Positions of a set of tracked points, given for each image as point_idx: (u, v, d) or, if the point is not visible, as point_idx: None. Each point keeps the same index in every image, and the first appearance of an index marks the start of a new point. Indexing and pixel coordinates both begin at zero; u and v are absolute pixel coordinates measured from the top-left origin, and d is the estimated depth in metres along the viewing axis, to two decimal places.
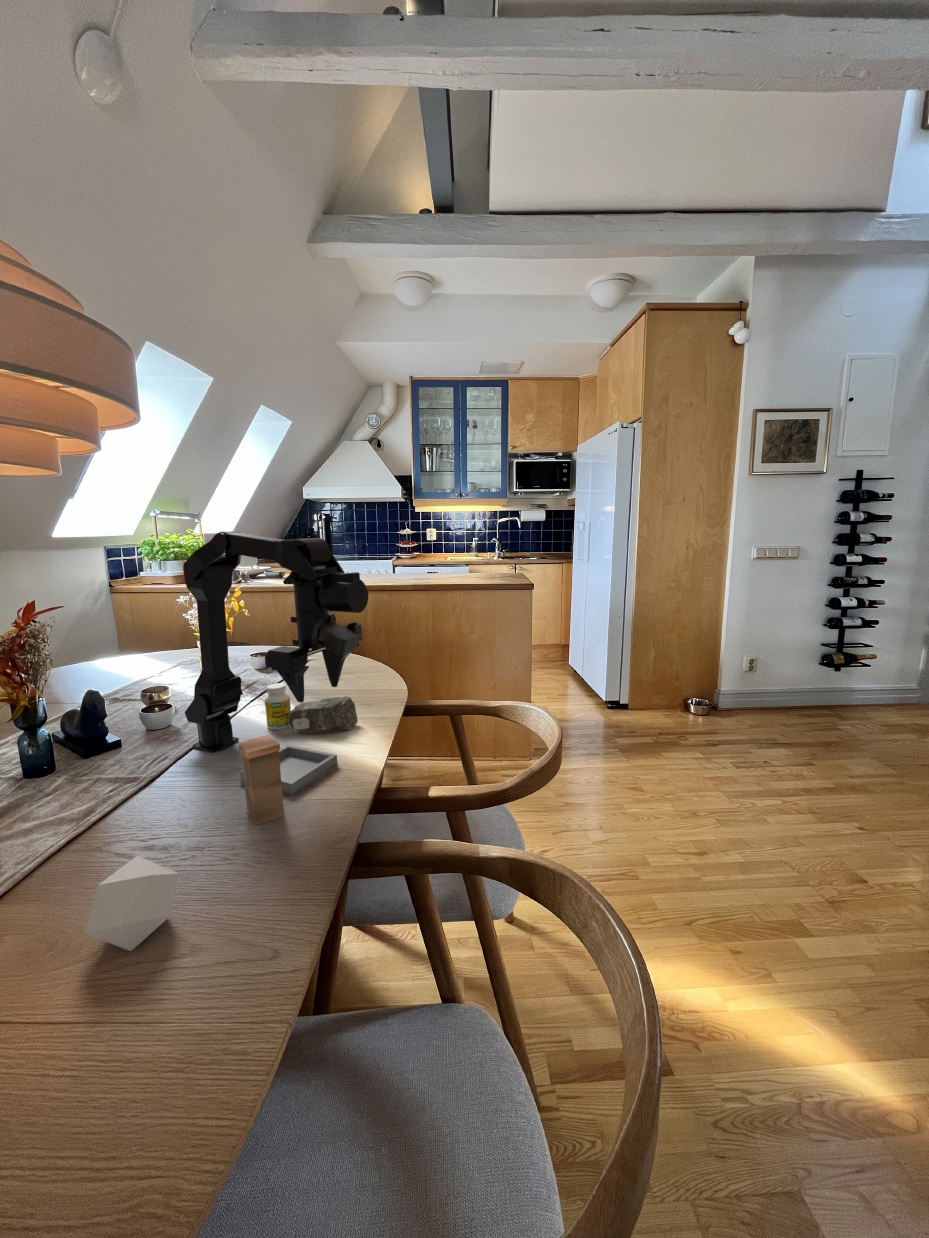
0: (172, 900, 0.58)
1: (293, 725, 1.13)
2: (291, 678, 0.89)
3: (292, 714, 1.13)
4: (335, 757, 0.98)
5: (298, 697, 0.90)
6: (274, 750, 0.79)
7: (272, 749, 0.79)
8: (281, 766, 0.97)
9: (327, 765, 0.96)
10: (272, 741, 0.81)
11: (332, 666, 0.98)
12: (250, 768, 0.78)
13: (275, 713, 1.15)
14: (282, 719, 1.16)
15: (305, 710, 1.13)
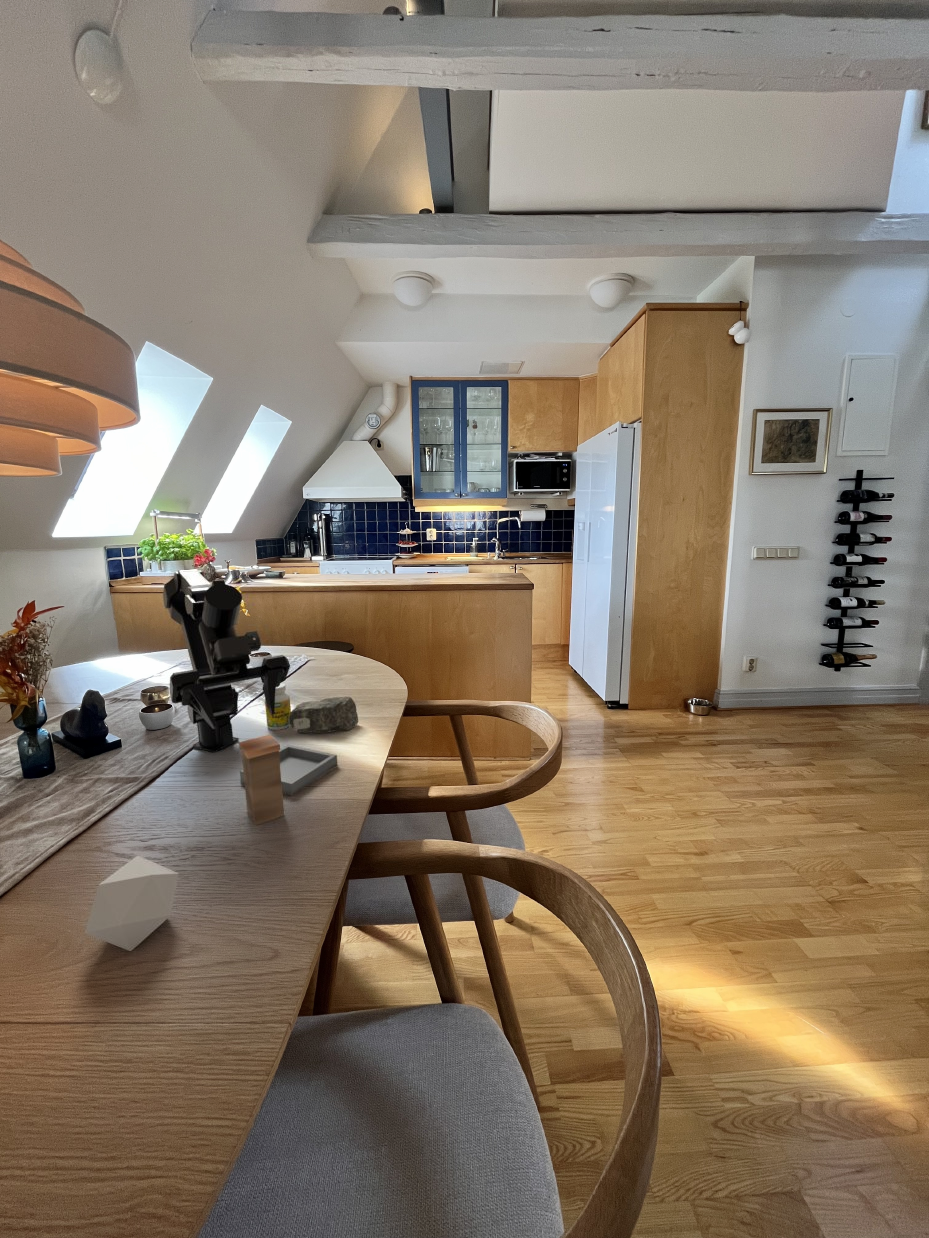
0: (172, 900, 0.58)
1: (294, 725, 1.13)
2: (200, 706, 0.85)
3: (293, 714, 1.13)
4: (335, 757, 0.98)
5: (210, 722, 0.83)
6: (274, 750, 0.79)
7: (272, 749, 0.79)
8: (281, 766, 0.97)
9: (327, 765, 0.96)
10: (273, 741, 0.81)
11: (267, 695, 0.91)
12: (250, 768, 0.78)
13: (275, 713, 1.15)
14: (282, 719, 1.16)
15: (306, 710, 1.13)
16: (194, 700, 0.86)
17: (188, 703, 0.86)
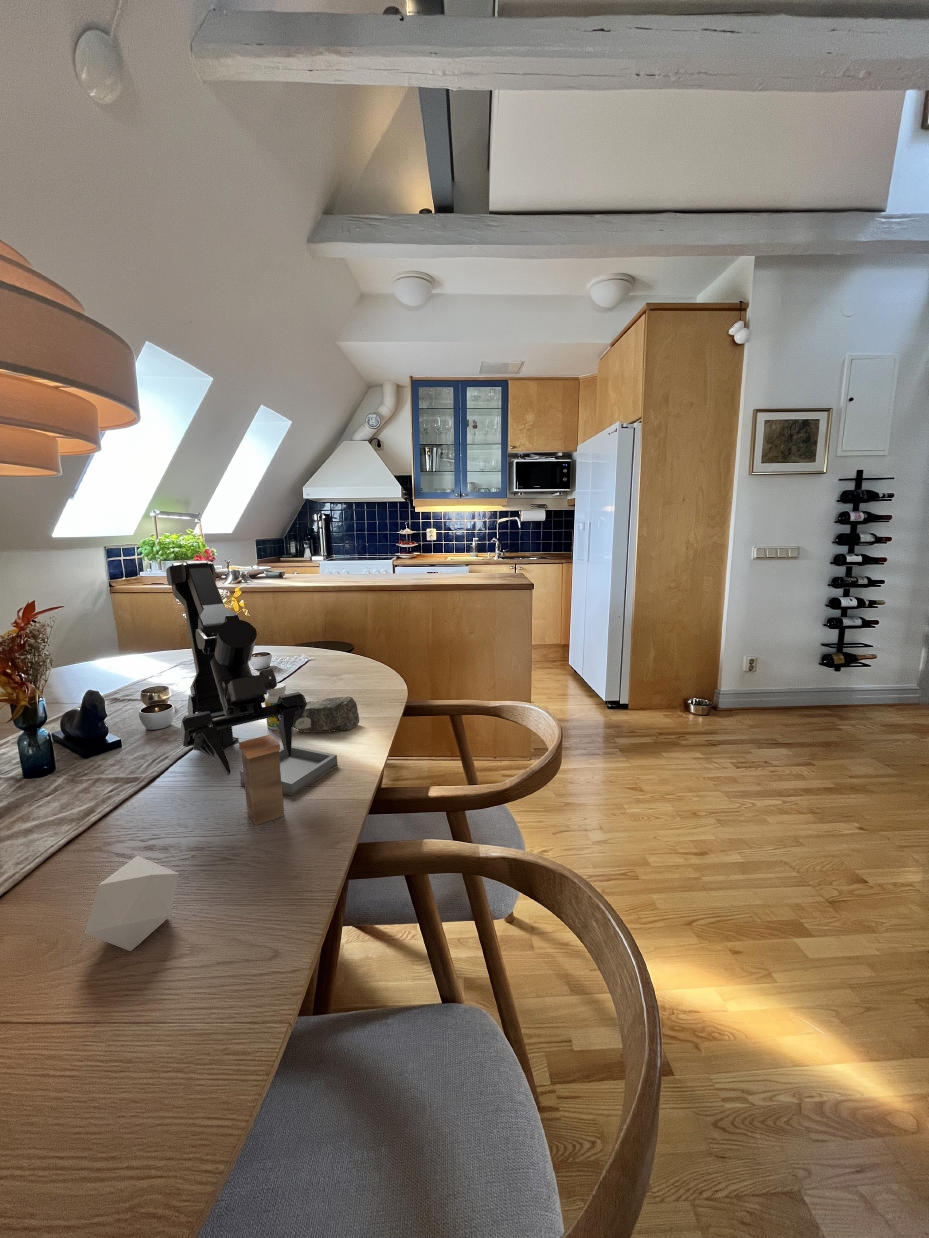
0: (172, 900, 0.58)
1: (295, 724, 1.13)
2: (213, 750, 0.80)
3: None
4: (335, 757, 0.98)
5: (223, 768, 0.78)
6: (274, 750, 0.79)
7: (272, 749, 0.79)
8: (281, 766, 0.97)
9: (327, 765, 0.96)
10: (273, 741, 0.81)
11: (283, 735, 0.86)
12: (250, 768, 0.78)
13: None
14: None
15: (307, 709, 1.13)
16: (207, 743, 0.81)
17: (200, 746, 0.81)
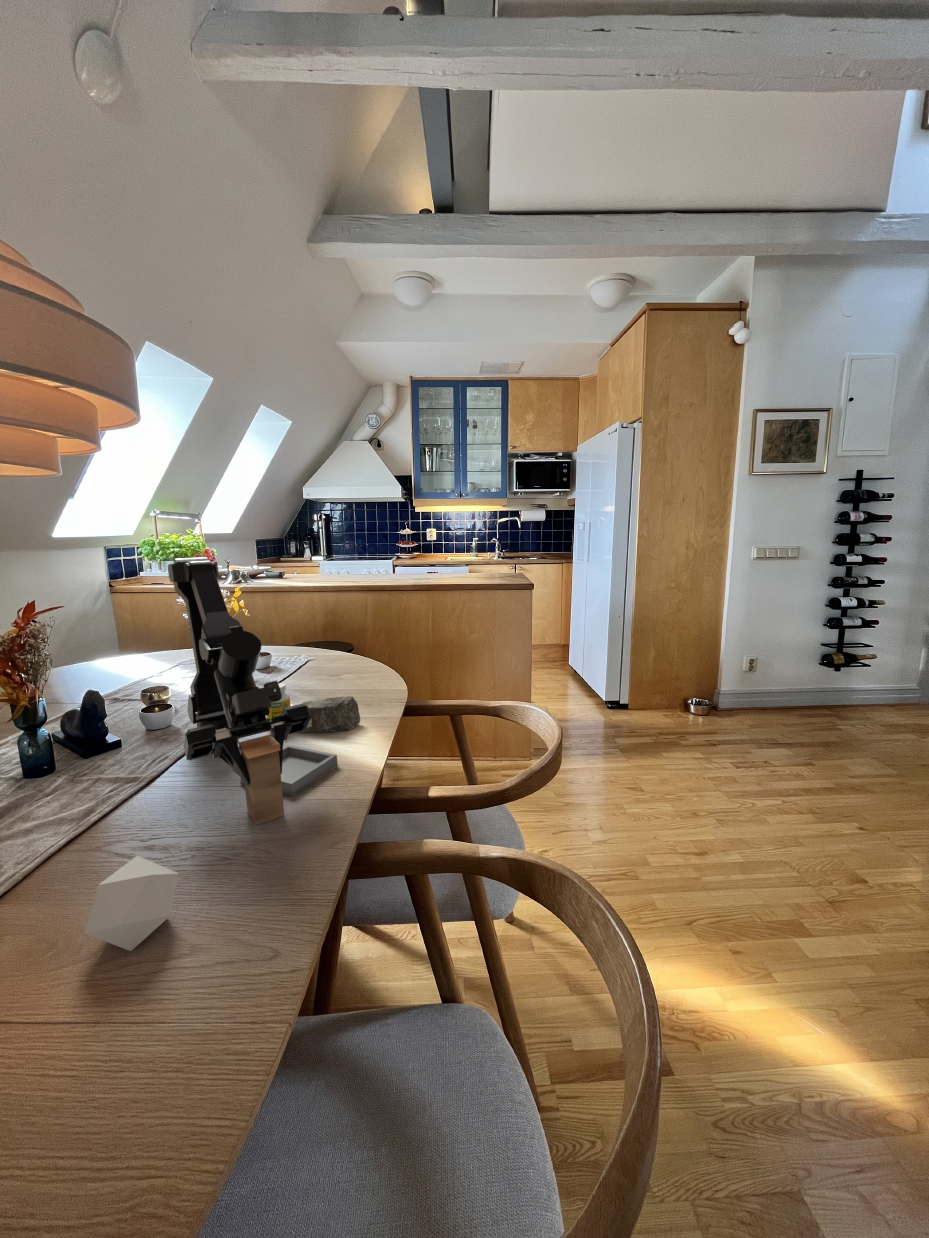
0: (172, 900, 0.58)
1: None
2: (232, 760, 0.80)
3: None
4: (335, 757, 0.98)
5: (243, 777, 0.79)
6: (274, 750, 0.79)
7: (272, 749, 0.79)
8: None
9: (327, 765, 0.96)
10: (273, 740, 0.81)
11: None
12: (250, 768, 0.78)
13: (275, 713, 1.15)
14: None
15: None
16: (226, 753, 0.81)
17: (219, 756, 0.81)
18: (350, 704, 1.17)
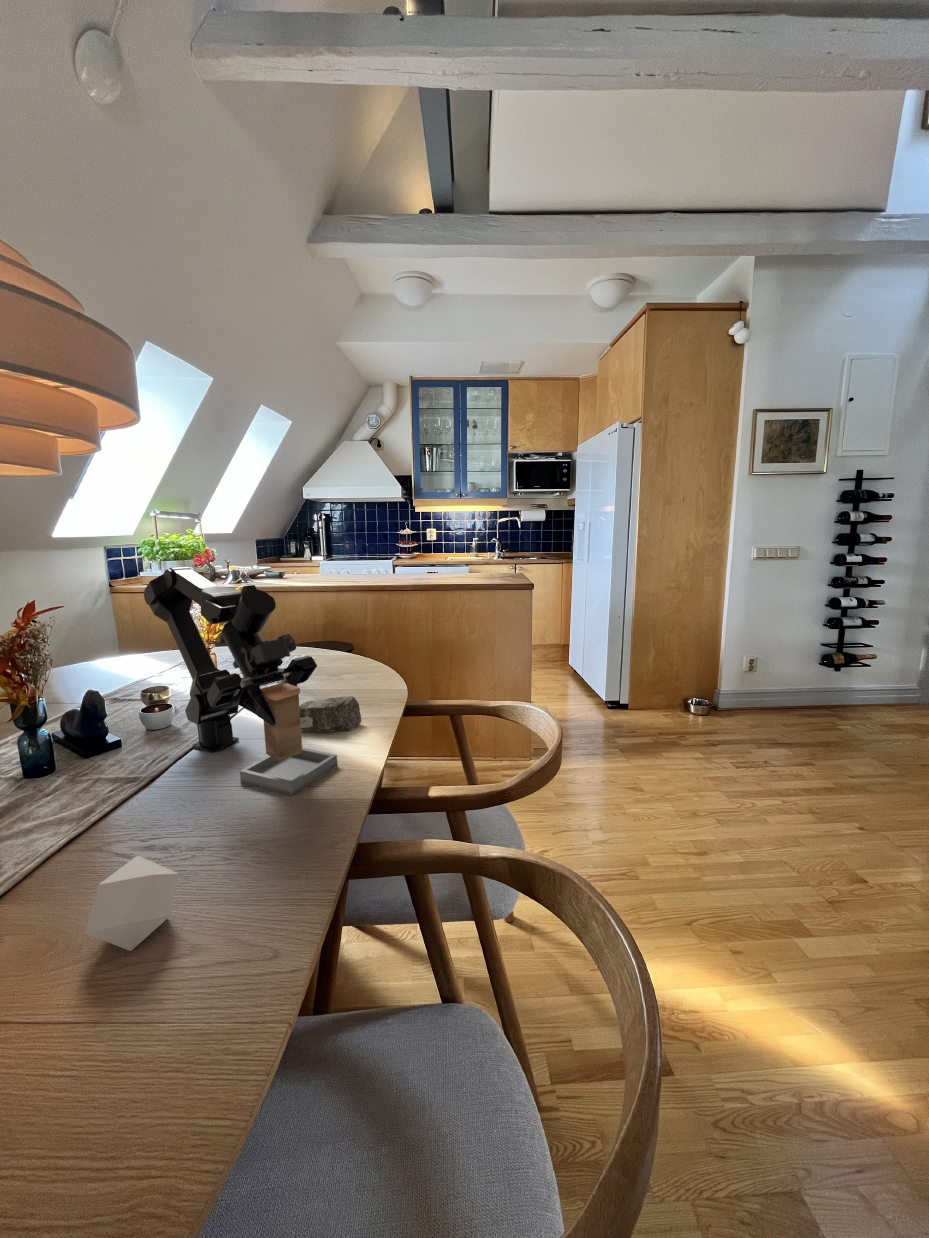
0: (172, 900, 0.58)
1: None
2: (254, 705, 0.89)
3: None
4: (335, 757, 0.98)
5: (268, 719, 0.88)
6: (295, 693, 0.89)
7: (294, 692, 0.89)
8: (281, 766, 0.97)
9: (327, 765, 0.96)
10: (291, 686, 0.91)
11: None
12: (276, 709, 0.87)
13: None
14: None
15: (309, 709, 1.14)
16: (246, 700, 0.89)
17: (239, 703, 0.89)
18: (351, 704, 1.17)
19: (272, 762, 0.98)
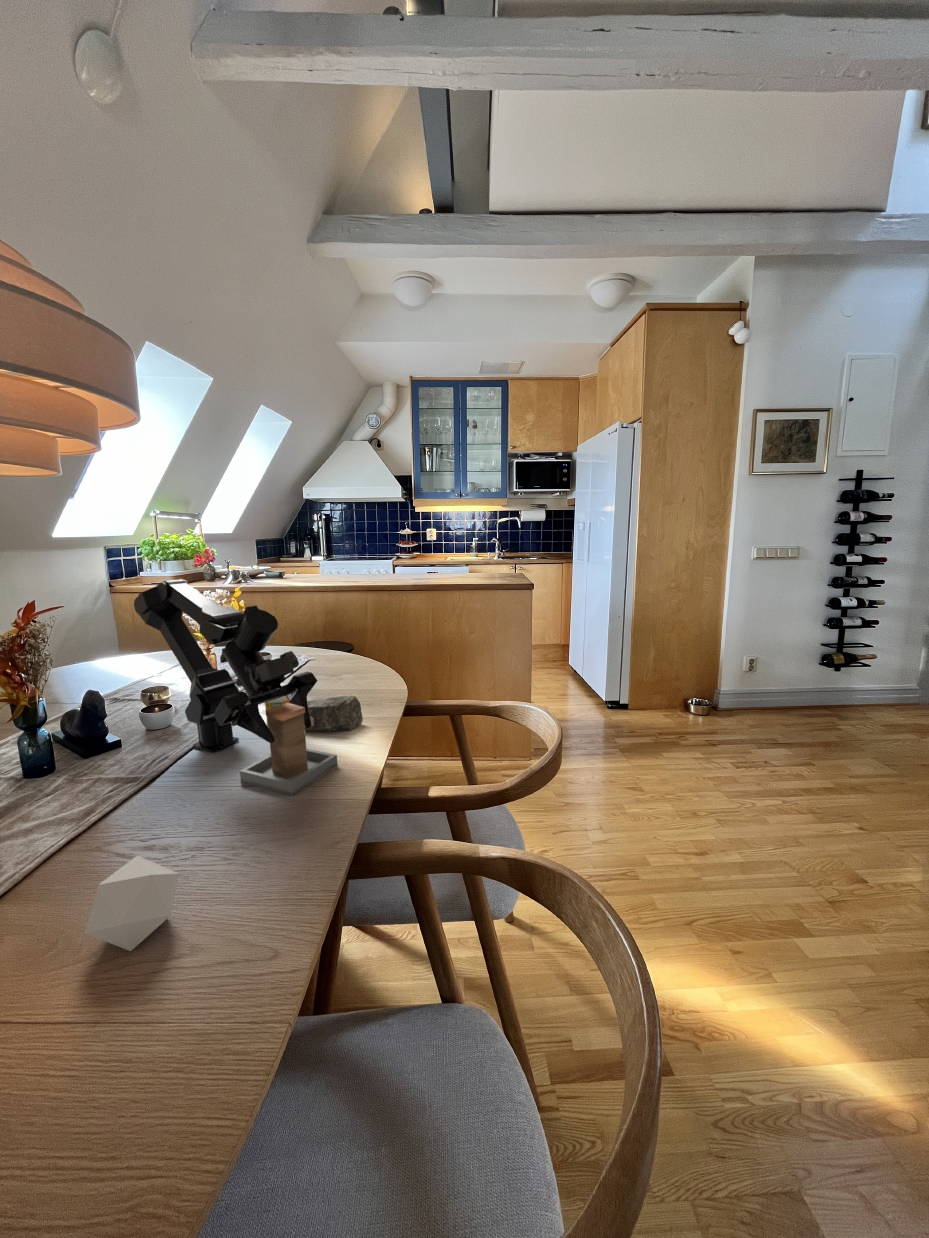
0: (172, 900, 0.58)
1: None
2: (253, 724, 0.90)
3: None
4: (335, 757, 0.98)
5: (267, 737, 0.90)
6: (301, 712, 0.93)
7: (299, 711, 0.93)
8: None
9: (327, 765, 0.96)
10: (296, 706, 0.94)
11: None
12: (284, 729, 0.91)
13: None
14: None
15: (310, 708, 1.14)
16: (244, 719, 0.91)
17: (237, 723, 0.91)
18: (352, 704, 1.17)
19: None
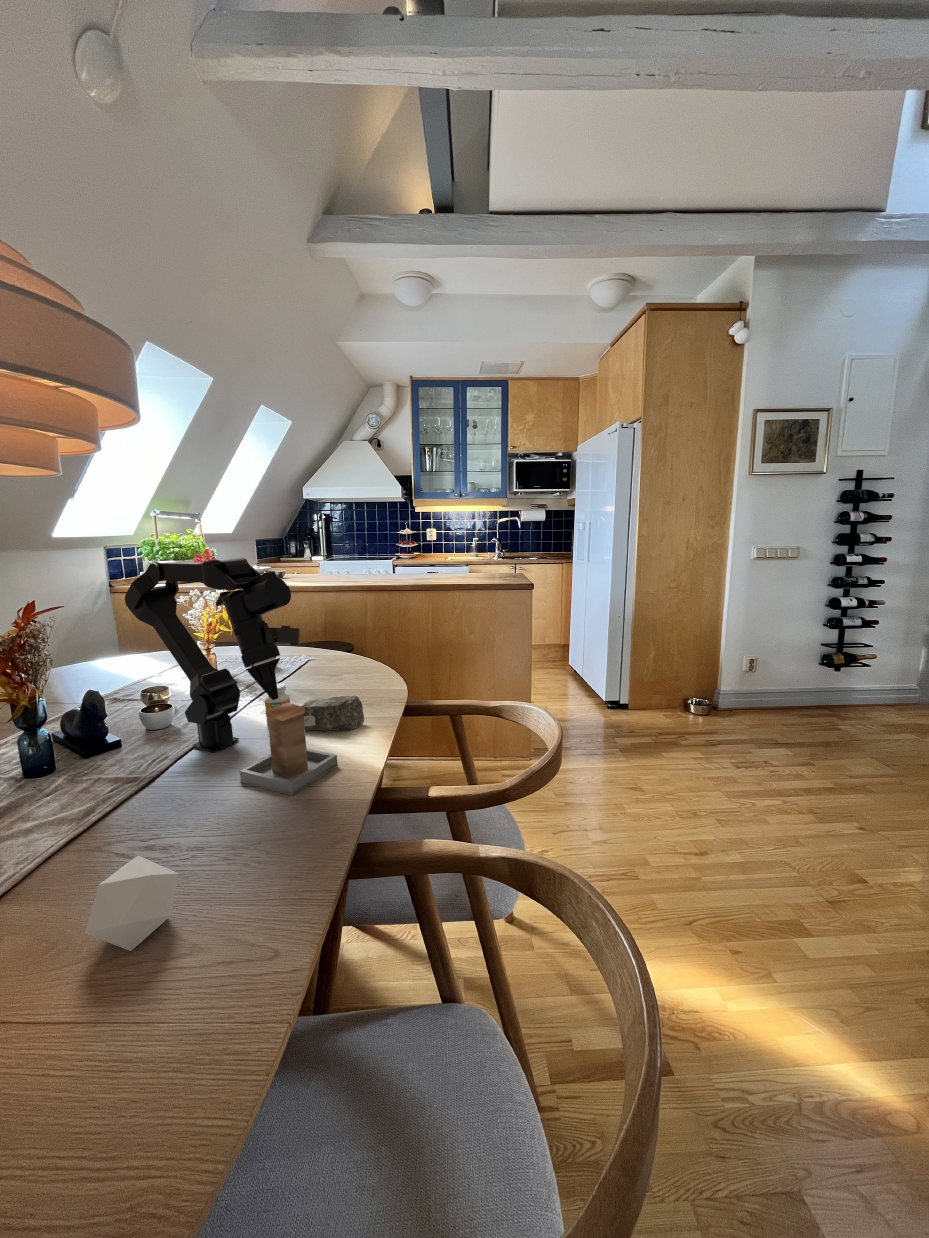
0: (172, 900, 0.58)
1: None
2: (264, 676, 0.94)
3: None
4: (335, 757, 0.98)
5: (274, 693, 0.95)
6: (301, 712, 0.93)
7: (299, 711, 0.93)
8: None
9: (327, 765, 0.96)
10: (296, 706, 0.94)
11: None
12: (284, 729, 0.91)
13: None
14: None
15: (312, 707, 1.14)
16: (257, 669, 0.93)
17: (251, 670, 0.92)
18: (354, 703, 1.17)
19: None
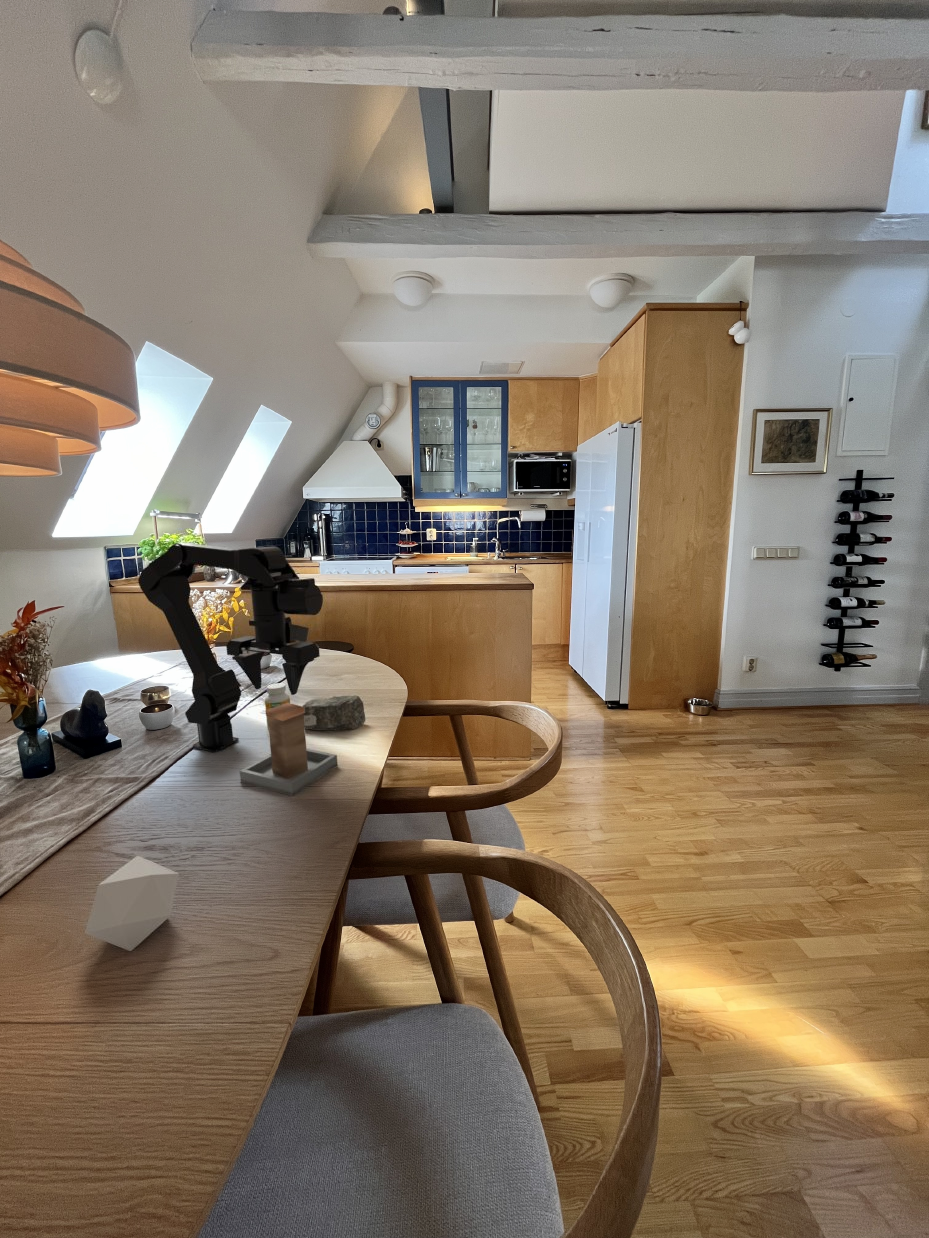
0: (172, 900, 0.58)
1: None
2: (295, 672, 0.98)
3: None
4: (335, 757, 0.98)
5: (296, 689, 0.99)
6: (301, 712, 0.93)
7: (299, 711, 0.93)
8: None
9: (327, 765, 0.96)
10: (296, 706, 0.94)
11: (255, 670, 1.03)
12: (284, 729, 0.91)
13: None
14: None
15: (313, 707, 1.15)
16: None
17: None
18: (355, 703, 1.17)
19: None
